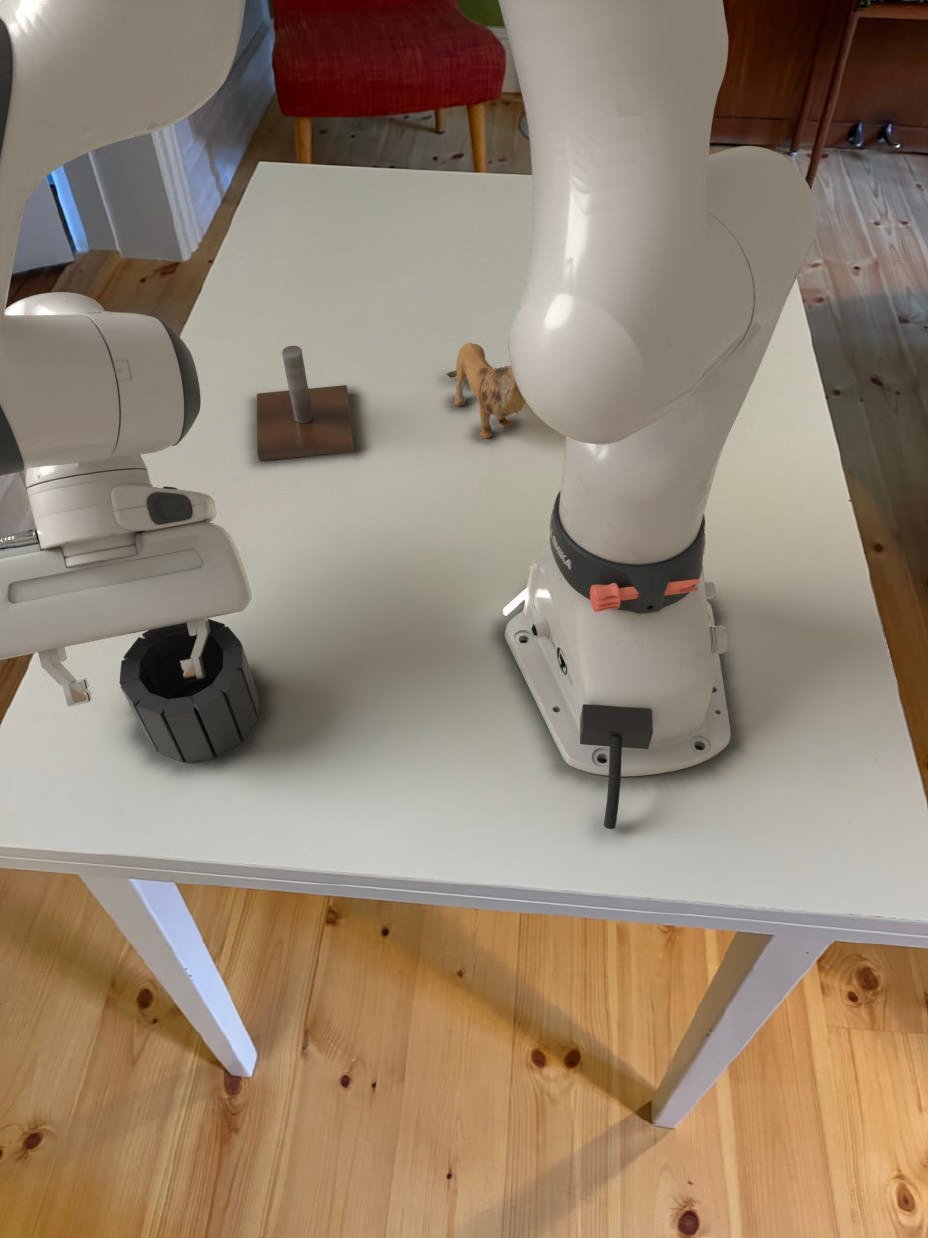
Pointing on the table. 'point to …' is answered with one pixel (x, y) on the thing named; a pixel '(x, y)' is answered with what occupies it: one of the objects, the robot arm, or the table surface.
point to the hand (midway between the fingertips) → (138, 691)
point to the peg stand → (302, 416)
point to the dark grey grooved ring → (196, 719)
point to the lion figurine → (487, 387)
